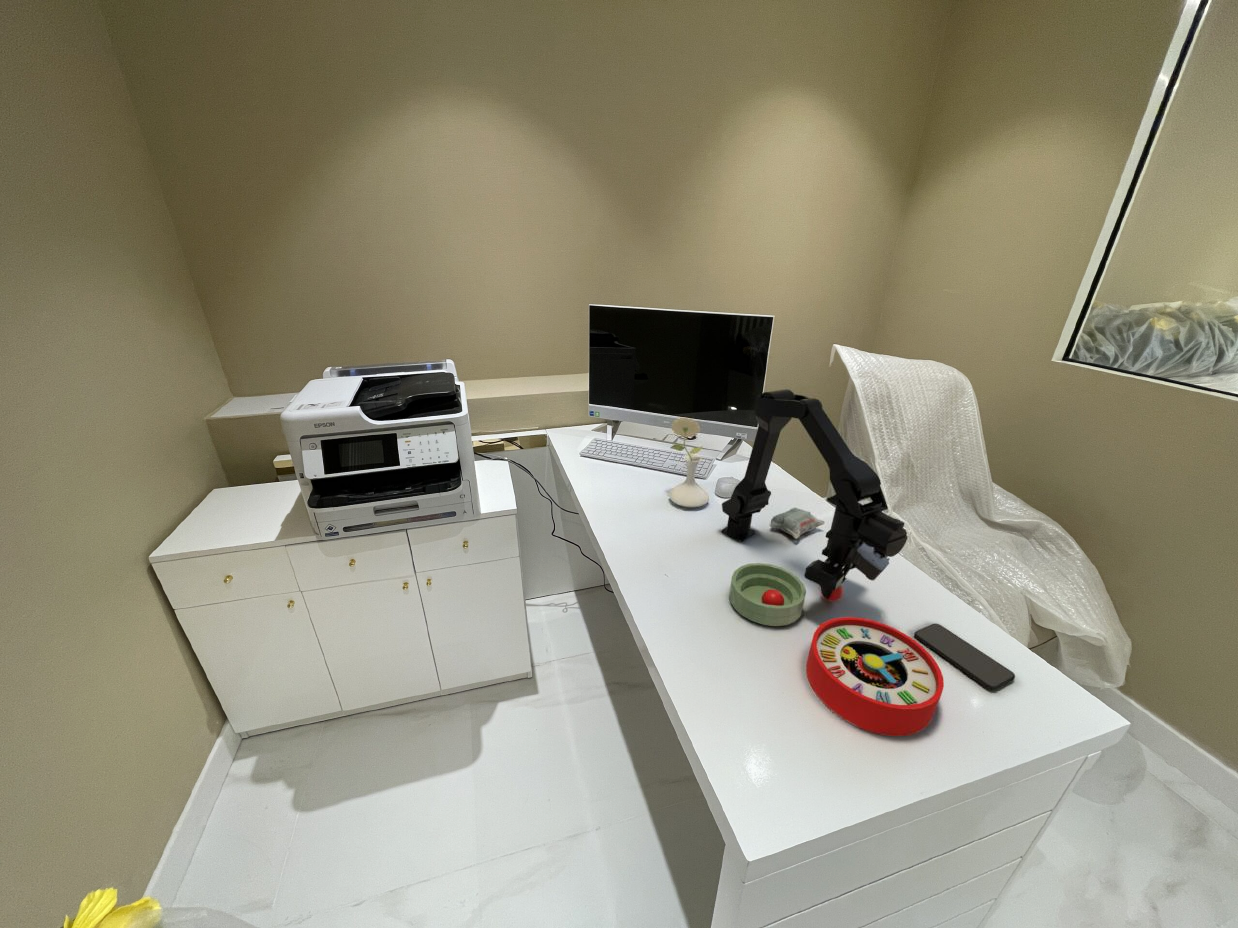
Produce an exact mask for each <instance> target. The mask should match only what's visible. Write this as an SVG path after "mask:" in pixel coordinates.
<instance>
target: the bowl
mask: <svg viewBox="0 0 1238 928" xmlns="http://www.w3.org/2000/svg"><path fill="white" fill-rule="evenodd" d="M731 575H732V576H731V580H730V586H729V593H728V595H729V602H730V603H731V605H732V607H733V609H734V610H735V611H737V612H738V613H739V615H741V616H742V617H744V618H746V619H748V620H749V621H752V622H754V623H757V624H760V625H764V626H770V627H782V626H788V625H790V624H793V623H795V622H797V620H799V618H801V616H802V612H803V608H804V604H805V600H806V594H807V590H806V587H805V584H804V583H803V582H802V580H801V579H800V578H799V577H798V576H797V575H795V574H794V573H793V572H791V571H790V570H788V569H786V568H783V567H781V566H778V565H775V564H770V563H763V562H755V563H747V564H743V565H741V566H739V567H738V568H737V569H735V570H734V571H733V573H732V574H731ZM771 589H773V590H777V591H779V592H780V593H781V594H782V596H783V598H784V605H782V606H775V605H767V604H763V603H762V600H761V599H762V595H763V594H764V592H766V591H767V590H771Z"/></svg>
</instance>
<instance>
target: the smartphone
mask: <svg viewBox="0 0 1238 928" xmlns="http://www.w3.org/2000/svg"><path fill="white" fill-rule="evenodd" d="M913 635H914V637H915V639H917V641H919V642H921V643H922V644H924V645H925V646H927V647H928V648H930V649H931V650H932V651H934V652H935V654H938V655H939V656H941V657H942V658H944V659H945V660H946V661H947V662H949V663H951V664H952V665H953V666H955V668H957V669H959V670H960V671H962V672H963V673H965V674H966V675H968V677H970V678H971V679H974V680H975V682H977V683H979V684H980V685H982V686H983V687H985V688H986V689H988V690H990V691H995V690H998V689H1000V688H1001V687H1003V686H1004V685H1006V684H1008V683H1010V682H1012V681H1014V680H1015V678H1016V674H1015V672H1014V671H1012V670H1010V669H1009V668H1007V667H1006V666H1004V665H1003V664H1001V663H1000V662H998V661H996V660H995V659H993V658H992V657H990V656H989V655H987V654H986V653H985V652H983V651H981V650H980V649H978V648H977V647H975V646H973V645H972V644H970V643H969V642H967V641H966V640H965V639H963V638H961V637H960V636H959V635H957V634H956V633H954V632H953V631H950V629H947V628H945V627H944V626H943V625H941V624H939V623H932V624H930V625H927V626H925V627H922V628H920V629H918V630H916V631H914V633H913Z"/></svg>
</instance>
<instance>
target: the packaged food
mask: <svg viewBox="0 0 1238 928" xmlns="http://www.w3.org/2000/svg"><path fill="white" fill-rule="evenodd" d="M825 523H826V522H825V520H821V519H818V518H817V517H816V516H814V515H813V514H811V511H808V510H804V509H801V508H798V507H793V508H790V509H789V510H787V511H784V512H782V513H779V514H776V515H774V516H773V517H772V518H771V519H770V524H769V526H770V528H774V527H775V528H776V529H779V530H780V531H782V532H784V533H786V534H788V535H790V536H792V537H793V538H794V539H795V540H797V539H799V538H800V536H802V535H804V534H805V533H807V532H810V531H811V530H814V529H817V528H818V527H820V526H823V525H824V524H825Z"/></svg>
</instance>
